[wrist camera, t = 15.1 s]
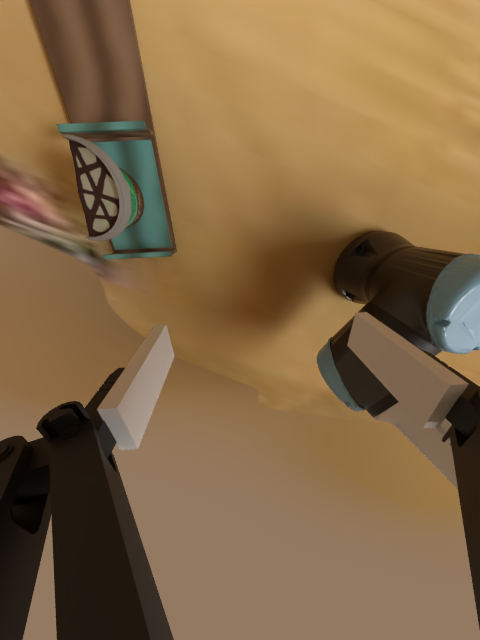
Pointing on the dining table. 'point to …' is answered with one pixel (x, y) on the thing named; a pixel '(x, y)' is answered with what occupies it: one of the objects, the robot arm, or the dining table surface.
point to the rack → (110, 105)
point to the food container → (104, 191)
